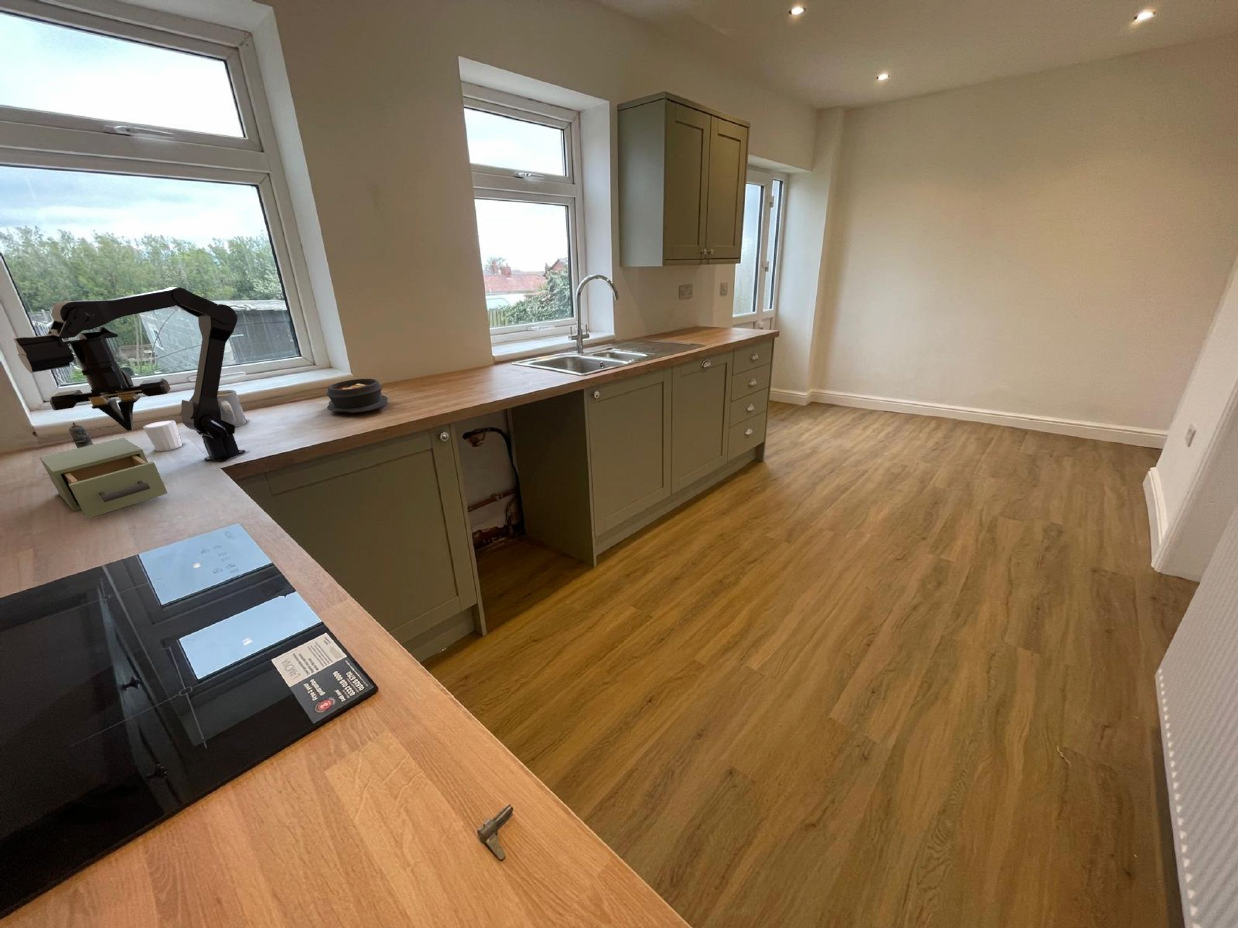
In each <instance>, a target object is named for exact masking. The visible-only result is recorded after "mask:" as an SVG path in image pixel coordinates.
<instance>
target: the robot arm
mask: <svg viewBox="0 0 1238 928" xmlns="http://www.w3.org/2000/svg"><path fill="white" fill-rule="evenodd" d="M173 307H178V308H180V309H181V310H183V311H185V312H186V313H188V314H189V315H192V316H194V317H196V318H197V319H198V329H199V331H200V335H201V346H200V352H199V358H198V364H197V370H196V371H197V372H196V378H195V383H194V390H193V394H192V396H191V398H189V400H185V399H182V400H181V403H180V404H181V409H180V412H179V414H178V417H181V422H182V425H184V426H185V428H188V429H189V430H192V431H195V432H196V433H197V434H198V435H200V436H201V438H202V441H203V445H204V447H205V449H206V452H207V454H208V456H205V457H204V458H203V459H204V461H211V462H212V461H213V462H226V461H228V460H230V459H233V458H235V457H237V456H240V455H242V454H245V453H246V449H239V447H238V444H237V442H236V438H235V436H234V435H235V433H236V427H235V425H233V424H230V423H228V422H226V421H223V420H221V409H220V406H219V403H218V400H217V395H218V391H219V389H220V382H221V376H222V369H223V364H224V363H223V362H224V356H225V350H226V344H227V342H228V341H229V339H230V338H231V336H232V334H233V333H234V331H235V329H236V326H237V323H238V320H239V319H238V318H239V317H238V314H237V312H236V311H235V310H234V309H233V308H232V307H231V306H229V305H227V304H223V303H216V302H214V301H212V300H210V299H207V298H205V297H202V296H200V295H197V294H195V293H193V292H191V291H189V290H187V289H186V288H184V287H175V286H174V287H167V288H165V289H162V290H161V289H160V290H156V291H150V292H145V293H144V292H143V293H139V294H133V295H127V296H122V297H115V298H111V299H97V300H96V299H95V300H90V299H89V300H64V301H59V302H57V303H55V304H54V305H53V307H52V309H51V315H52V316H51V317H52V318H53V322H52V323H51V326H50V328H49V330H48V331H47V334H44V335H37V336H19V337H13V341H14V343H15V346H16V351H17V353H18V354H17V356H18V358H19V360H20V361H21V363H22V365H23V366H24V368H25V369H26V370H27V371H28V373H31V374H32V373H38V372H45V371H50V370H52V371H53V370H56V369H64V368H70V367H71V363H74V361H75V359H76V361H77V363H78V364H79V366H80V368H81V373H82V376H85V379H86V381H87V384H88V385H89V387H90V392H83V391H82V390H81V389H74V390H67V391H60V392H57V393H55V394H54V395H52V396H51V397H50V398H49V404H50V406H51V408H52V410H53V411H62V410H68V409H74V408H75V407H76V405H77V404H79V403H85V402H86V403H87V402H90V403H91V409H93V410H96V409H97V410H100V411H101V412H102V413H104V414H106V415H107V416H109V417H110V418H111V419H112V420H114V421H115V422H116V423H118V425H119V426H120V427H122V428H123V429H124V430H126V431H127V432H131V431H133V430H134V416H133V415H134V405H135V403H137V402H138V401H139V400H140V399H141V395H140V394H143V395H144V396H146V397H154V396H155V397H156V396H161V395H166V394H168V393H169V392H170V390H171V386H170V384H169V382H168V380H167V379H165V378H162V377H161V378H153V379H147V380H143V381H142V382H141V383H140V384H139V385H135V384H134V382H133V380H132V376H131V374H130V372H129V371H126V370H124V369H123V368H122V367H121V365H120V364H119V362H118V361H117V360H116V357H115V355H114V353H113V351H112V349H111V346H110V344H109V342H108V339H113V338H114V339H115V338H118V337H119V334H118V333H116V332H113V331H111V330H109V329H107V328H106V327H105V326H104V325H107V324H110V323H111V322H113V321H115V320H118V319H121V318H123V317H129V316H132V315H137V314H143V313H148V312H153V311H158V310H163V309H167V308H173ZM96 328H98V329H97V330H95V331H94V329H96ZM91 330H93V331H91ZM83 331H88V332H83ZM77 336H78V337H77ZM76 337H77V338H76ZM116 398H118V399H120V400H119V401H118V402H117V400H116Z"/></svg>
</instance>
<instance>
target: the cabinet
mask: <svg viewBox="0 0 1238 928" xmlns="http://www.w3.org/2000/svg"><path fill="white" fill-rule="evenodd" d="M93 444H94V445H89V446H85V447H81V448H77V447H76V448H73V449H68V450H64V451H60V452H56V453H52V454H48V455H43V456H39V460H40V462H41V463H42V466H43V467H44V469H45V470H46V472H47V475H48V476H49V478H50V480H51V482H52V484H53V485H54V487H55V489H56V491H57V493H58V494H59V496H60V497H61V498H62V499H63V500H64V502H65V503H66V504H67V505H68V506H69V507H70V509H72V511H73V512H76V511H81V510H82V509H81V507H80V505H79V503H78V501H77V500H76V499H75V497H74V495H73V493H72V491H71V489H70V488H69V486H68V484H67V482H66V480H65V478H64V476H63V474H62V473H66V472H70V471H74V470H77V469H81V468H85V467H89V466H93V465H97V464H101V463H105V462H109V461H112V460H116V459H120V458H124V457H128V456H132V455H136V456H138V457H139V458H141V459H142V460H144V461H145V462H147V463H149V461H148V459H147V457H146V455H145V452H144V450H143V448H141V447H139V446H138V445H136V444H135V443H133V442H131V441H130V440H128V439H127V438H125V437H120V438H116V439H111V440H106V441H103V442H98V443H93Z"/></svg>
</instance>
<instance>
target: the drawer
mask: <svg viewBox="0 0 1238 928" xmlns="http://www.w3.org/2000/svg"><path fill="white" fill-rule="evenodd" d="M62 474H63V476H64V478H65V480H66V482H67V484H68V486H69V488H70V489H71V491H72V493H73V495H74V497H75V499H76V500H77V501H78V503H79V505H80V507H81V509H80V510H81V511H82V513H83V515H84V516H85V518H86V519H90V518H94V517H97V516H100V515H103V514H107V513H110V512H113V511H116V510H119V509H123V508H126V507H129V506H133V505H135V504H138V503H142V502H144V501H148V500H151V499H154V498H158V497H161V496H165V495H168V493H169V492H168V490H167V488H166V486H165V484H164V481H163V479H162V477H161V475H160V472H159V470H158V467H157V466H156V464H155V462H154V461H148V463H147V462H145V461H144V460H142V459H141V458H139V457H138V456H136V455H132V456H128V457H124V458H120V459H116V460H112V461H109V462H105V463H101V464H97V465H93V466H89V467H85V468H81V469H77V470H74V471H70V472H66V473H62Z"/></svg>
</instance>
